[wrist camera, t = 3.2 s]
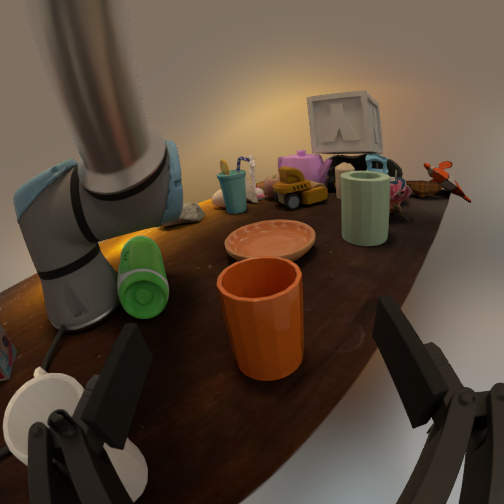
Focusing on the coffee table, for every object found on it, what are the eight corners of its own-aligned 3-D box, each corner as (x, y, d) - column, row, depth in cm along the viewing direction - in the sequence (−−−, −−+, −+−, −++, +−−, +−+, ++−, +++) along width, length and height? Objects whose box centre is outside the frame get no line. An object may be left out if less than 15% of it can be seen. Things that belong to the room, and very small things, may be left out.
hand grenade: (322, 176, 85) (336, 180, 76) (334, 173, 85) (349, 177, 76) (325, 189, 87) (338, 195, 78) (337, 186, 87) (351, 192, 78)
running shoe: (398, 157, 73) (408, 157, 80) (323, 148, 94) (339, 148, 101) (396, 192, 78) (406, 188, 85) (323, 178, 98) (339, 175, 105)
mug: (109, 400, 23) (62, 332, 19) (166, 485, 15) (102, 433, 11) (55, 429, 19) (-1, 367, 14) (95, 521, 10) (10, 476, 6)
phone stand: (389, 198, 70) (390, 156, 65) (362, 195, 74) (361, 154, 69) (391, 191, 76) (391, 153, 71) (366, 189, 80) (364, 151, 75)
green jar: (389, 247, 46) (392, 181, 40) (340, 245, 49) (339, 180, 44) (385, 228, 53) (386, 171, 48) (342, 226, 56) (341, 170, 51)
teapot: (269, 191, 90) (264, 153, 84) (291, 182, 97) (288, 148, 92) (322, 197, 76) (319, 153, 71) (341, 188, 84) (339, 149, 79)
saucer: (252, 285, 41) (249, 267, 39) (214, 249, 54) (211, 235, 53) (334, 252, 46) (334, 236, 45) (284, 226, 60) (282, 213, 58)
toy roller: (332, 201, 72) (328, 162, 67) (284, 213, 68) (279, 171, 64) (314, 194, 80) (311, 159, 75) (270, 205, 76) (265, 168, 72)
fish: (432, 144, 64) (433, 155, 76) (413, 177, 70) (416, 184, 81) (483, 183, 55) (477, 189, 67) (463, 217, 61) (459, 218, 73)
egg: (239, 194, 83) (214, 200, 83) (235, 181, 78) (209, 188, 79) (241, 207, 80) (215, 213, 80) (237, 194, 75) (209, 201, 76)
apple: (274, 207, 79) (261, 184, 75) (270, 199, 86) (258, 178, 82) (298, 194, 78) (286, 170, 74) (292, 187, 84) (281, 165, 81)
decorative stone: (172, 234, 66) (168, 214, 63) (153, 227, 73) (149, 210, 70) (211, 217, 73) (208, 199, 71) (188, 212, 80) (185, 196, 78)
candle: (336, 194, 78) (335, 161, 74) (355, 195, 76) (353, 161, 72) (335, 200, 74) (334, 164, 69) (355, 200, 72) (354, 164, 67)
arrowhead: (226, 180, 78) (244, 209, 77) (231, 175, 76) (249, 204, 76) (244, 177, 84) (261, 204, 83) (249, 173, 83) (266, 200, 82)
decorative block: (333, 154, 95) (328, 103, 89) (383, 153, 84) (377, 99, 78) (312, 153, 81) (305, 93, 75) (371, 151, 70) (364, 85, 64)
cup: (267, 210, 72) (260, 153, 65) (245, 219, 68) (236, 159, 61) (233, 204, 82) (226, 154, 75) (212, 211, 77) (203, 159, 71)
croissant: (443, 179, 62) (444, 196, 62) (440, 186, 68) (441, 202, 68) (400, 176, 69) (400, 193, 69) (400, 184, 75) (400, 199, 75)
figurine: (240, 189, 89) (239, 153, 83) (261, 189, 89) (262, 153, 84) (241, 196, 82) (241, 157, 77) (265, 195, 83) (265, 156, 77)
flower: (364, 229, 62) (359, 189, 63) (399, 229, 61) (394, 191, 63) (381, 215, 51) (374, 170, 52) (421, 216, 50) (413, 173, 52)
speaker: (112, 317, 33) (164, 326, 37) (120, 269, 31) (177, 281, 35) (118, 265, 48) (155, 272, 52) (125, 228, 46) (164, 237, 50)
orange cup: (294, 386, 24) (290, 305, 20) (225, 373, 26) (202, 295, 22) (309, 336, 30) (307, 257, 25) (249, 328, 32) (236, 254, 28)
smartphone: (242, 199, 81) (239, 187, 95) (242, 202, 82) (239, 190, 95) (266, 196, 82) (260, 185, 95) (267, 199, 82) (260, 188, 96)
